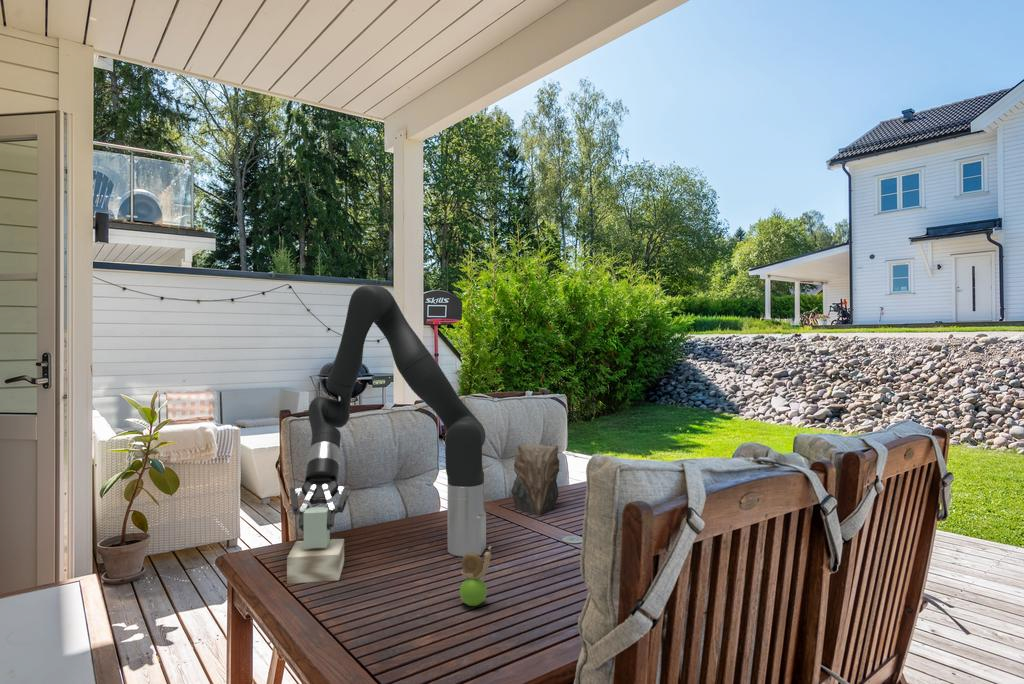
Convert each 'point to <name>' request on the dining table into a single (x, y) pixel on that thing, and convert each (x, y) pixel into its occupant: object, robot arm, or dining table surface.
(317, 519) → the sage block
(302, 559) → the birch block
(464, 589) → the snail figurine
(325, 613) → the dining table surface
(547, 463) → the owl
